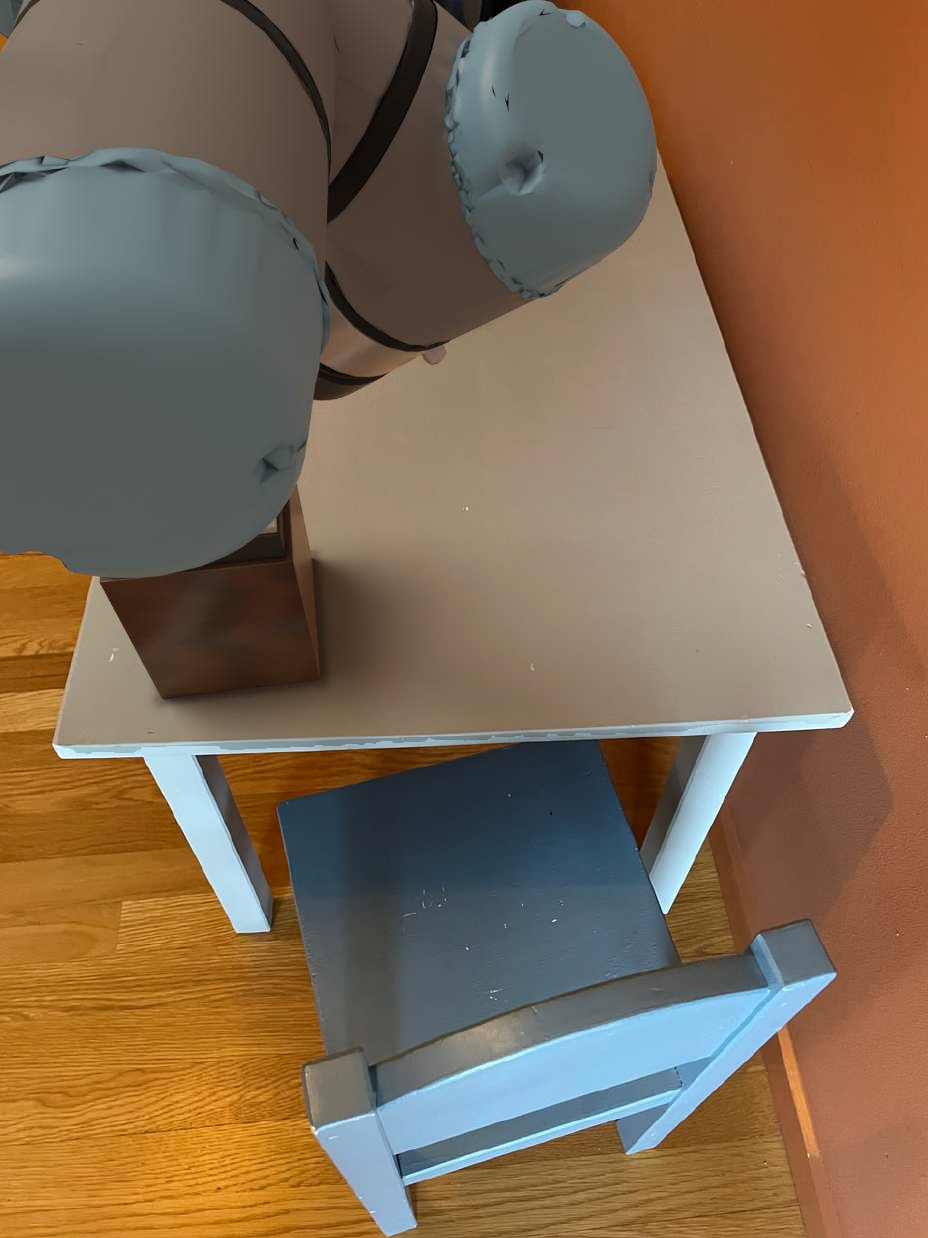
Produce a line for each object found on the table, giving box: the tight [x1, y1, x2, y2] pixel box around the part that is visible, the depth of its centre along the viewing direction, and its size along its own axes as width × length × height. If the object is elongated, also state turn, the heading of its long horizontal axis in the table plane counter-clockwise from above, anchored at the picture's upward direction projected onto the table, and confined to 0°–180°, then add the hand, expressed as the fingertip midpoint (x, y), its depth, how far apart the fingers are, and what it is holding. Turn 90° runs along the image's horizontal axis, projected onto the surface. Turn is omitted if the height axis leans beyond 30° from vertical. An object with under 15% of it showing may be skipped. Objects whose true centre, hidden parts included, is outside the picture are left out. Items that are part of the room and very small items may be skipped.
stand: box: [99, 483, 321, 699], centre depth 72 cm, size 13×13×16 cm
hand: (184, 410), depth 56 cm, fingers open, 13 cm apart
